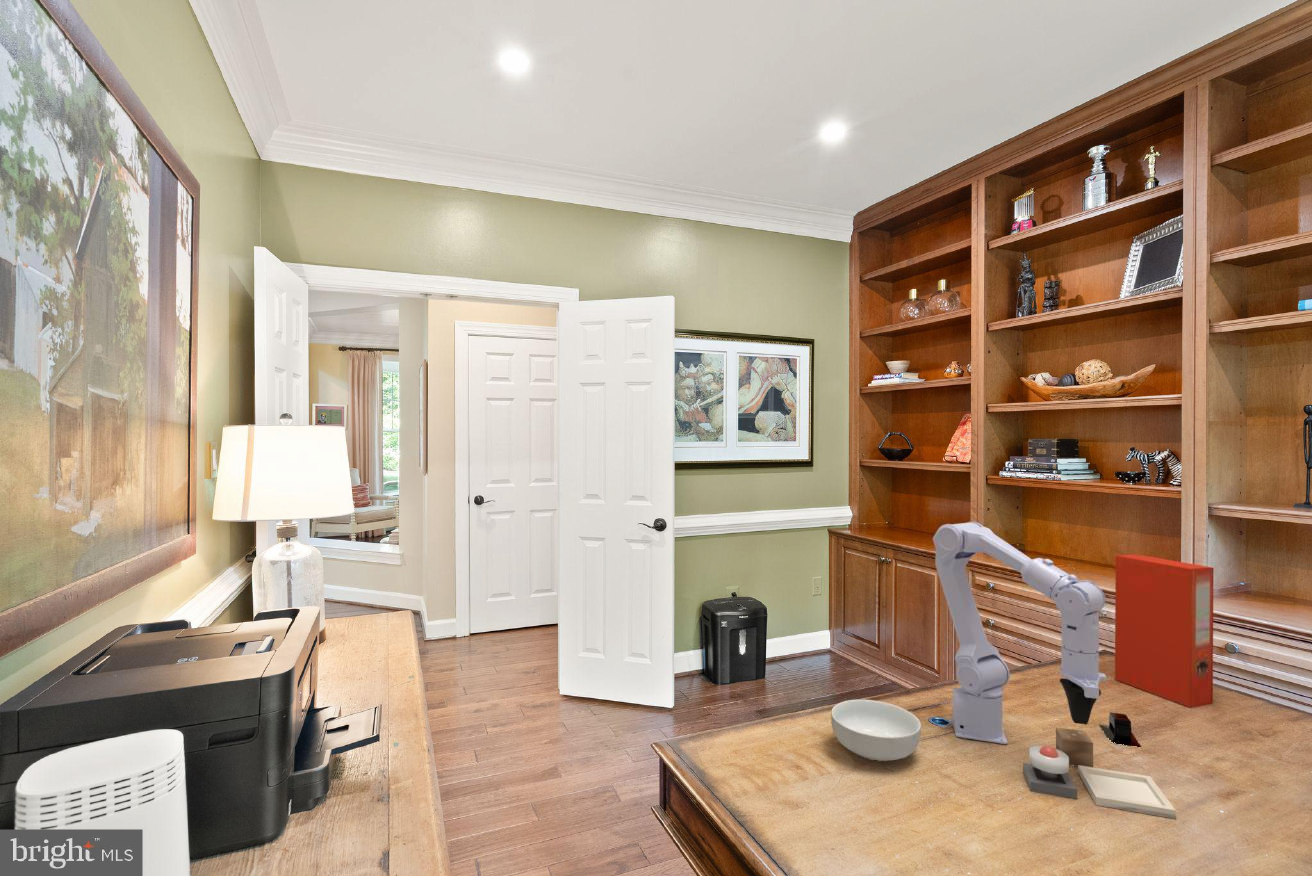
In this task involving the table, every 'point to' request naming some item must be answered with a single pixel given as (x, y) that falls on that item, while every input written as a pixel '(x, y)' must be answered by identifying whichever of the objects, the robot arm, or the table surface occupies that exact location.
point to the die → (1075, 746)
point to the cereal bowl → (876, 729)
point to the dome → (1049, 760)
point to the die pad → (1126, 791)
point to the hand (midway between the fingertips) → (1079, 722)
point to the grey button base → (1049, 782)
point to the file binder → (1165, 628)
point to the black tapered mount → (1120, 730)
